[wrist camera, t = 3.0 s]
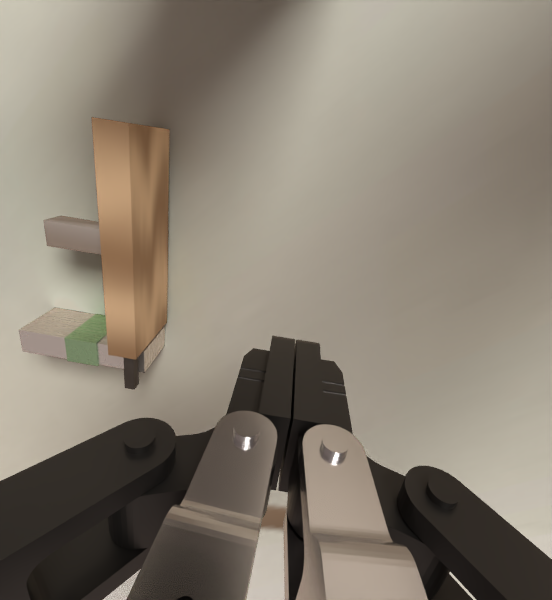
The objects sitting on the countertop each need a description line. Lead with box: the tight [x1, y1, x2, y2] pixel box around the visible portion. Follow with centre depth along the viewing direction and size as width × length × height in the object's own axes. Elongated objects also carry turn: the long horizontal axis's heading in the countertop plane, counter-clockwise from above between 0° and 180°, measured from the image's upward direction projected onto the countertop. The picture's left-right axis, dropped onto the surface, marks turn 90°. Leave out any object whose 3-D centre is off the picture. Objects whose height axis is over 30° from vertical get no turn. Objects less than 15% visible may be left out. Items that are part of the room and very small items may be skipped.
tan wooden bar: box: [44, 117, 169, 389], centre depth 19 cm, size 15×6×5 cm, turn 172°
